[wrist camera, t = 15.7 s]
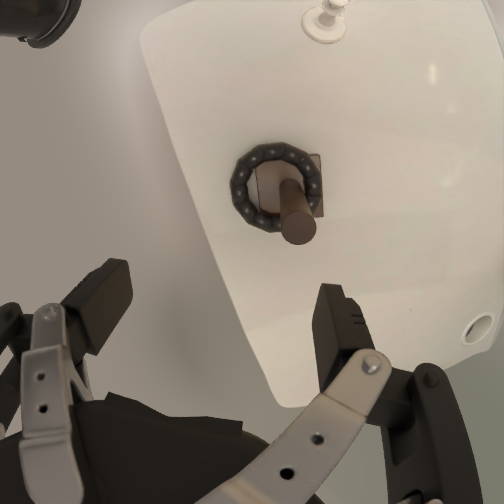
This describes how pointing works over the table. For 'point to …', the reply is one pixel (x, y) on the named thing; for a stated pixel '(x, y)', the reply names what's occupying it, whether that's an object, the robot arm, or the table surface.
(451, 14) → the table surface
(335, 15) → the chess piece
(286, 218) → the peg stand
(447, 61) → the table surface
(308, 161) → the ring
